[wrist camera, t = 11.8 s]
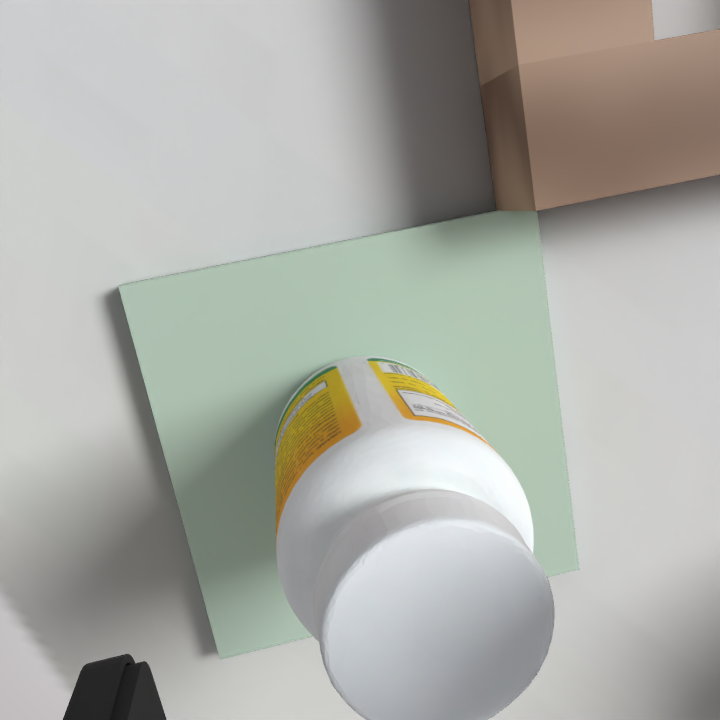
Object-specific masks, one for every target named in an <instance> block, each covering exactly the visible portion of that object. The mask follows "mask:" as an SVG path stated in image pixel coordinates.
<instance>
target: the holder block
mask: <svg viewBox="0 0 720 720" xmlns="http://www.w3.org/2000/svg"><path fill="white" fill-rule="evenodd" d="M469 7H470V14H471V22H472V29H473V37H474V45H475V52H476V60H477V67H478V75H479V82H480V90H481V98H482V105H483V113H484V120H485V128H486V136H487V143H488V151H489V158H490V166H491V173H492V181H493V189H494V196H495V204H496V211H538V210H543V209H548V208H553V207H559V206H564V205H569V204H574V203H579V202H584V201H589V200H594V199H599V198H604V197H609V196H614V195H619V194H624V193H629V192H634V191H639V190H644V189H649V188H655V187H660V186H665V185H670V184H675V183H680V182H685V181H690V180H695V179H700V178H705V177H710V176H715V175H720V29H718V30H712V31H706V32H701V33H695V34H689V35H684V36H678V37H672V38H667V39H661V40H655V41H654V30H653V16H652V2H651V0H469Z"/></svg>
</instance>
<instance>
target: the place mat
mask: <svg viewBox="0 0 720 720" xmlns="http://www.w3.org/2000/svg"><path fill="white" fill-rule="evenodd" d="M118 288H119V291H120V295H121V299H122V302H123V306H124V310H125V313H126V317H127V321H128V324H129V328H130V332H131V335H132V339H133V343H134V346H135V350H136V354H137V357H138V361H139V365H140V368H141V372H142V376H143V379H144V383H145V387H146V390H147V394H148V398H149V401H150V405H151V409H152V412H153V416H154V420H155V423H156V427H157V431H158V434H159V438H160V442H161V445H162V449H163V453H164V456H165V460H166V464H167V467H168V471H169V475H170V478H171V482H172V486H173V489H174V493H175V497H176V500H177V504H178V508H179V511H180V515H181V519H182V522H183V526H184V530H185V533H186V537H187V541H188V544H189V548H190V552H191V555H192V559H193V563H194V566H195V570H196V574H197V577H198V581H199V585H200V588H201V592H202V596H203V599H204V603H205V607H206V610H207V614H208V618H209V621H210V625H211V629H212V632H213V636H214V640H215V643H216V647H217V651H218V654H219V658H220V659H224V658H228V657H232V656H236V655H240V654H244V653H248V652H252V651H256V650H260V649H264V648H268V647H272V646H276V645H280V644H284V643H288V642H292V641H296V640H300V639H304V638H308V637H312V636H313V635H312V634H311V633H309V632H308V630H307V629H306V628H305V627H304V626H303V625H302V623H301V622H300V621H299V619H298V618H297V617H296V615H295V613H294V612H293V610H292V608H291V606H290V604H289V602H288V600H287V598H286V596H285V593H284V590H283V587H282V584H281V580H280V577H279V572H278V565H277V556H276V501H275V500H276V491H275V436H276V430H277V426H278V423H279V420H280V417H281V415H282V412H283V410H284V408H285V406H286V405H287V403H288V402H289V400H290V398H291V397H292V395H293V394H294V393H295V392H296V391H297V389H298V388H299V387H300V386H301V385H302V384H303V383H304V382H305V381H306V380H307V379H308V378H309V377H310V376H311V375H313V374H314V373H315V372H317V371H318V370H320V369H321V368H323V367H325V366H327V365H330V364H332V363H334V362H337V361H339V360H343V359H346V358H351V357H358V356H379V357H386V358H390V359H394V360H397V361H400V362H403V363H405V364H407V365H409V366H411V367H413V368H414V369H416V370H418V371H419V372H421V373H422V374H423V375H424V376H426V377H427V378H428V379H429V380H430V381H431V382H432V383H434V384H435V385H436V386H437V387H438V388H439V390H440V391H441V392H442V393H443V394H444V395H445V396H446V397H447V398H448V399H449V401H450V402H451V403H452V404H453V405H454V406H455V408H456V409H457V410H458V411H459V412H460V413H461V414H462V415H463V416H464V417H465V418H466V419H467V420H468V421H469V422H470V423H471V424H472V425H473V427H474V428H475V429H476V430H477V431H478V432H479V433H480V434H481V435H482V436H483V437H484V438H485V439H486V440H487V442H488V443H489V444H490V445H491V446H492V447H493V448H494V449H495V450H496V451H497V453H498V454H499V455H500V456H501V457H502V458H503V460H504V461H505V462H506V463H507V465H508V466H509V467H510V468H511V469H512V471H513V473H514V474H515V476H516V478H517V479H518V481H519V483H520V485H521V487H522V489H523V491H524V493H525V496H526V498H527V501H528V504H529V507H530V512H531V517H532V523H533V536H534V546H533V554H534V556H535V557H536V559H537V560H538V561H539V563H540V565H541V567H542V568H543V570H544V572H545V574H546V576H547V577H551V576H555V575H559V574H563V573H567V572H571V571H575V570H579V562H578V554H577V545H576V537H575V528H574V520H573V511H572V503H571V494H570V486H569V477H568V469H567V460H566V452H565V443H564V435H563V426H562V418H561V409H560V401H559V392H558V384H557V375H556V367H555V358H554V350H553V341H552V333H551V324H550V316H549V307H548V299H547V290H546V282H545V273H544V265H543V256H542V248H541V239H540V231H539V222H538V214H537V211H492V212H487V213H482V214H477V215H471V216H466V217H461V218H456V219H451V220H446V221H441V222H436V223H431V224H426V225H421V226H416V227H410V228H405V229H400V230H395V231H390V232H385V233H380V234H375V235H370V236H365V237H360V238H355V239H349V240H344V241H339V242H334V243H329V244H324V245H319V246H314V247H309V248H304V249H299V250H294V251H288V252H283V253H278V254H273V255H268V256H263V257H258V258H253V259H248V260H243V261H238V262H233V263H227V264H222V265H217V266H212V267H207V268H202V269H197V270H192V271H187V272H182V273H177V274H172V275H166V276H161V277H156V278H151V279H146V280H141V281H136V282H131V283H126V284H122V285H120V286H118Z"/></svg>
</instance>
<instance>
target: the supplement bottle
mask: <svg viewBox="0 0 720 720" xmlns="http://www.w3.org/2000/svg"><path fill="white" fill-rule="evenodd" d="M275 491H276V500H275V501H276V556H277V565H278V572H279V577H280V580H281V584H282V587H283V590H284V593H285V596H286V598H287V600H288V602H289V604H290V606H291V608H292V610H293V612H294V613H295V615H296V617H297V618H298V619H299V621H300V622H301V623H302V625H303V626H304V627H305V628H306V629H307V630H308V632H309V633H311V634H312V635H313V636H314V637H315V638H316V639H317V640H318V641H319V643H320V650H321V655H322V659H323V663H324V666H325V669H326V671H327V674H328V676H329V678H330V681H331V683H332V685H333V687H334V688H335V689H336V690H337V692H338V693H339V694H340V696H341V697H342V698H343V700H344V701H345V702H346V703H347V704H348V705H349V706H350V707H351V708H352V709H353V710H354V711H355V712H357V713H358V714H359V715H360V716H362V717H363V718H365V719H367V720H487V719H489V718H491V717H493V716H494V715H496V714H497V713H499V712H500V711H502V710H503V709H504V708H506V707H507V706H508V705H509V704H510V703H512V702H513V701H514V700H515V699H516V698H517V697H518V696H519V695H520V694H521V693H522V692H523V691H524V690H525V689H526V688H527V687H528V686H529V684H530V683H531V682H532V680H533V679H534V677H535V676H536V675H537V673H538V671H539V670H540V668H541V666H542V664H543V662H544V660H545V657H546V655H547V653H548V650H549V646H550V643H551V639H552V634H553V628H554V601H553V596H552V591H551V587H550V584H549V582H548V579H547V576H546V574H545V572H544V570H543V568H542V567H541V565H540V563H539V561H538V560H537V559H536V557H535V556H534V554H533V546H534V536H533V523H532V517H531V512H530V507H529V504H528V501H527V498H526V496H525V493H524V491H523V489H522V487H521V485H520V483H519V481H518V479H517V478H516V476H515V474H514V473H513V471H512V469H511V468H510V467H509V466H508V465H507V463H506V462H505V461H504V460H503V458H502V457H501V456H500V455H499V454H498V453H497V451H496V450H495V449H494V448H493V447H492V446H491V445H490V444H489V443H488V442H487V440H486V439H485V438H484V437H483V436H482V435H481V434H480V433H479V432H478V431H477V430H476V429H475V428H474V427H473V425H472V424H471V423H470V422H469V421H468V420H467V419H466V418H465V417H464V416H463V415H462V414H461V413H460V412H459V411H458V410H457V409H456V408H455V406H454V405H453V404H452V403H451V402H450V401H449V399H448V398H447V397H446V396H445V395H444V394H443V393H442V392H441V391H440V390H439V388H438V387H437V386H436V385H435V384H434V383H432V382H431V381H430V380H429V379H428V378H427V377H426V376H424V375H423V374H422V373H421V372H419V371H418V370H416V369H414V368H413V367H411V366H409V365H407V364H405V363H403V362H400V361H397V360H394V359H390V358H386V357H379V356H358V357H351V358H346V359H343V360H339V361H337V362H334V363H332V364H330V365H327V366H325V367H323V368H321V369H320V370H318V371H317V372H315V373H314V374H313V375H311V376H310V377H309V378H308V379H307V380H306V381H305V382H304V383H303V384H302V385H301V386H300V387H299V388H298V389H297V391H296V392H295V393H294V394H293V395H292V397H291V398H290V400H289V402H288V403H287V405H286V406H285V408H284V410H283V412H282V415H281V417H280V420H279V423H278V426H277V430H276V436H275Z"/></svg>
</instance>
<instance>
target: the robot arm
mask: <svg viewBox="0 0 720 720" xmlns="http://www.w3.org/2000/svg"><path fill="white" fill-rule="evenodd" d="M63 720H166V717H165V714H164V710H163V707H162V704H161V701H160V698H159V695H158V692H157V688H156V685H155V682H154V679H153V676H152V673H151V670H150V667H149V665H148V664H147V662H145V661H144V662H140V663H136V664H135V661H134V659H133V658H132V656H131V655H129V654H125V655H121V656H117V657H112V658H108V659H104V660H100V661H96V662H92V663H88V664H86V665H85V666H83V668H82V670H81V672H80V675H79V678H78V680H77V683H76V686H75V688H74V691H73V694H72V696H71V699H70V702H69V705H68V707H67V710H66V713H65V715H64V718H63Z"/></svg>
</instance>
